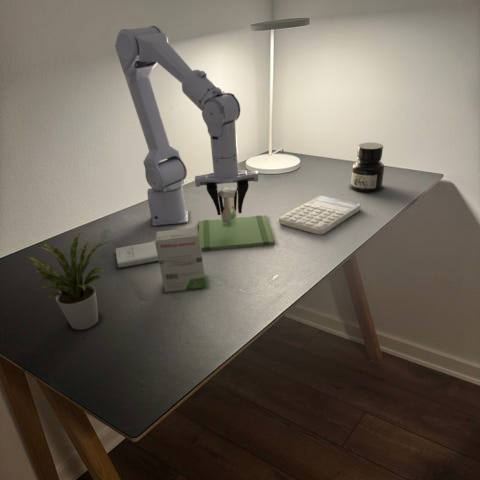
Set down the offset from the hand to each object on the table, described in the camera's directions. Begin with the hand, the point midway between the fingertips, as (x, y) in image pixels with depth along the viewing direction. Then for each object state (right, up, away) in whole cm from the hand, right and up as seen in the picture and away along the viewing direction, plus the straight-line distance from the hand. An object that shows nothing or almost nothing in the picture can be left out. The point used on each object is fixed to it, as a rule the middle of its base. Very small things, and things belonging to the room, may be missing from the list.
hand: (229, 212), depth 108 cm
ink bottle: (+40, +13, +25) cm, 49 cm away
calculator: (+24, +1, +10) cm, 26 cm away
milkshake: (0, -3, +2) cm, 4 cm away
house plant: (-26, -26, -22) cm, 43 cm away
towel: (+1, -4, +4) cm, 6 cm away
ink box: (-9, -19, -15) cm, 25 cm away
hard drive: (-20, -11, -3) cm, 23 cm away
